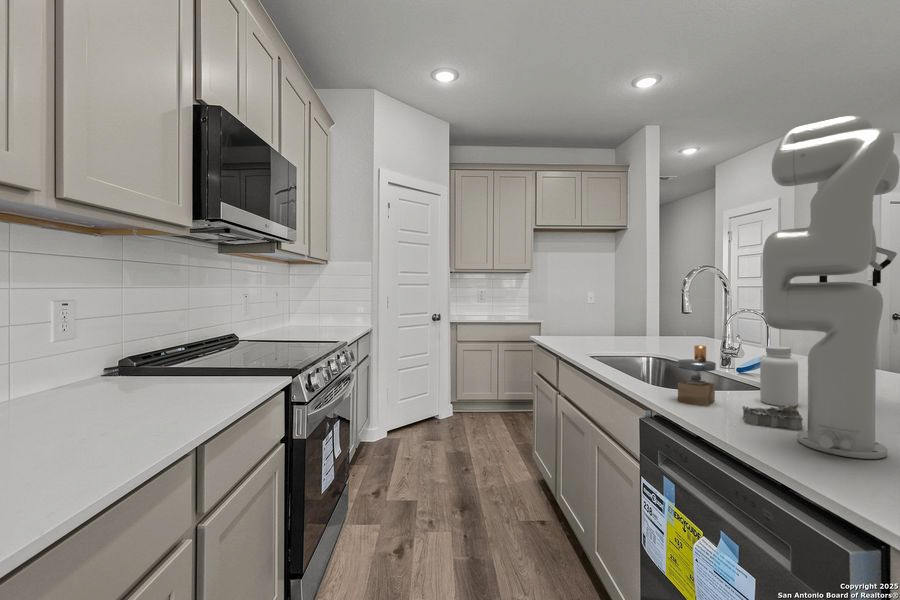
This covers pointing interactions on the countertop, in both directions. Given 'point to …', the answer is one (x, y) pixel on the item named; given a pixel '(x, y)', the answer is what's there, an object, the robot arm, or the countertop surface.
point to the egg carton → (774, 416)
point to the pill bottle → (779, 377)
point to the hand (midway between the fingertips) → (849, 286)
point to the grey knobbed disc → (697, 363)
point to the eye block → (696, 392)
